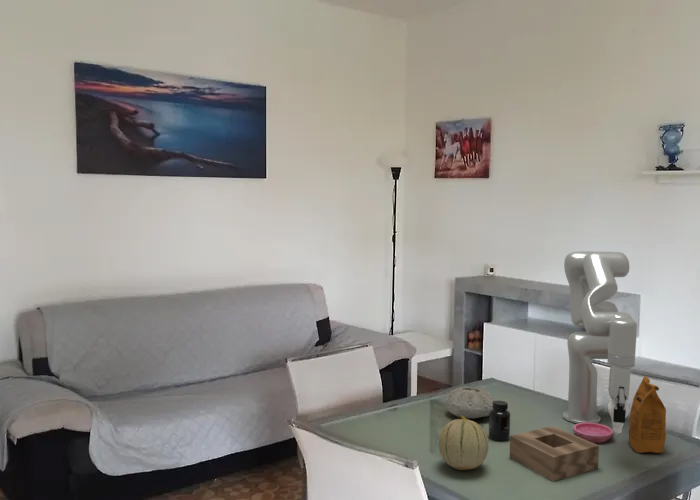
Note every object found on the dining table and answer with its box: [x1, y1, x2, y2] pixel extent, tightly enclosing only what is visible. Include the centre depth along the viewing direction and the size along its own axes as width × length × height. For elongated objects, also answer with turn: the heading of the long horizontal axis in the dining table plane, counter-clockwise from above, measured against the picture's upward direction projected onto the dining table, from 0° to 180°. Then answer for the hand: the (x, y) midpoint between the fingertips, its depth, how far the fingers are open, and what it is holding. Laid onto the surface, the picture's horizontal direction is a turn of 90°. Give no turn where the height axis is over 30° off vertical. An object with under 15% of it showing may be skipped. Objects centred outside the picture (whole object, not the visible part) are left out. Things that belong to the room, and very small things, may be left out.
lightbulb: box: [607, 398, 631, 435], centre depth 197 cm, size 6×6×11 cm
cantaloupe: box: [438, 415, 489, 471], centre depth 194 cm, size 15×15×15 cm
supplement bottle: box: [488, 400, 511, 442], centre depth 217 cm, size 7×7×12 cm
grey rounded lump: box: [445, 385, 496, 420], centre depth 238 cm, size 18×18×10 cm
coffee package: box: [628, 376, 667, 454], centre depth 209 cm, size 10×12×22 cm
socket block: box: [509, 425, 600, 482], centre depth 197 cm, size 18×18×7 cm
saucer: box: [572, 423, 614, 444], centre depth 218 cm, size 12×12×3 cm
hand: (618, 417), depth 197 cm, fingers closed on lightbulb, 5 cm apart
